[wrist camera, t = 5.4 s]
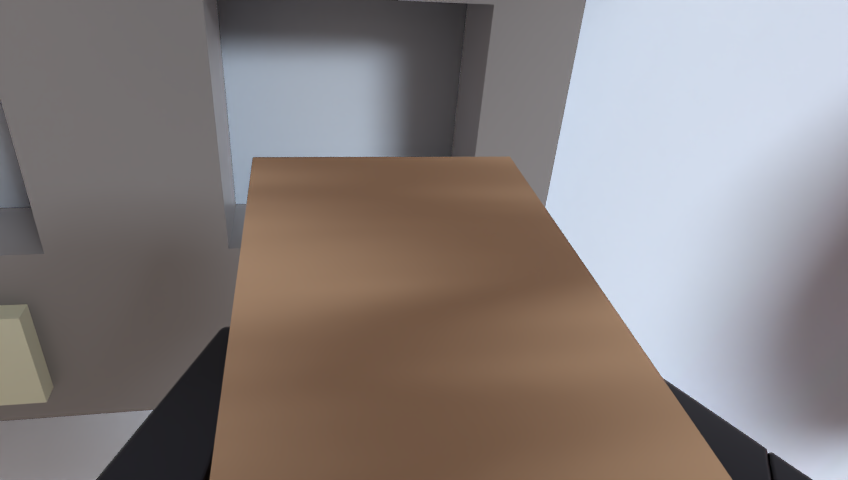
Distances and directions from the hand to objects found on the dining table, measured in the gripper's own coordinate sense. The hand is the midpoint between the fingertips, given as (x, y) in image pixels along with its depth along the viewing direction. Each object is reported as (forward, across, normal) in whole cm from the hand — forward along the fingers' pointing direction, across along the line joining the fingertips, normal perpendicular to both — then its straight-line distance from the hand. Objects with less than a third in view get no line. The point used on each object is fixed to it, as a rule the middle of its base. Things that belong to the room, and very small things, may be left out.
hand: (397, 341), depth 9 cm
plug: (+2, 0, 0) cm, 2 cm away
